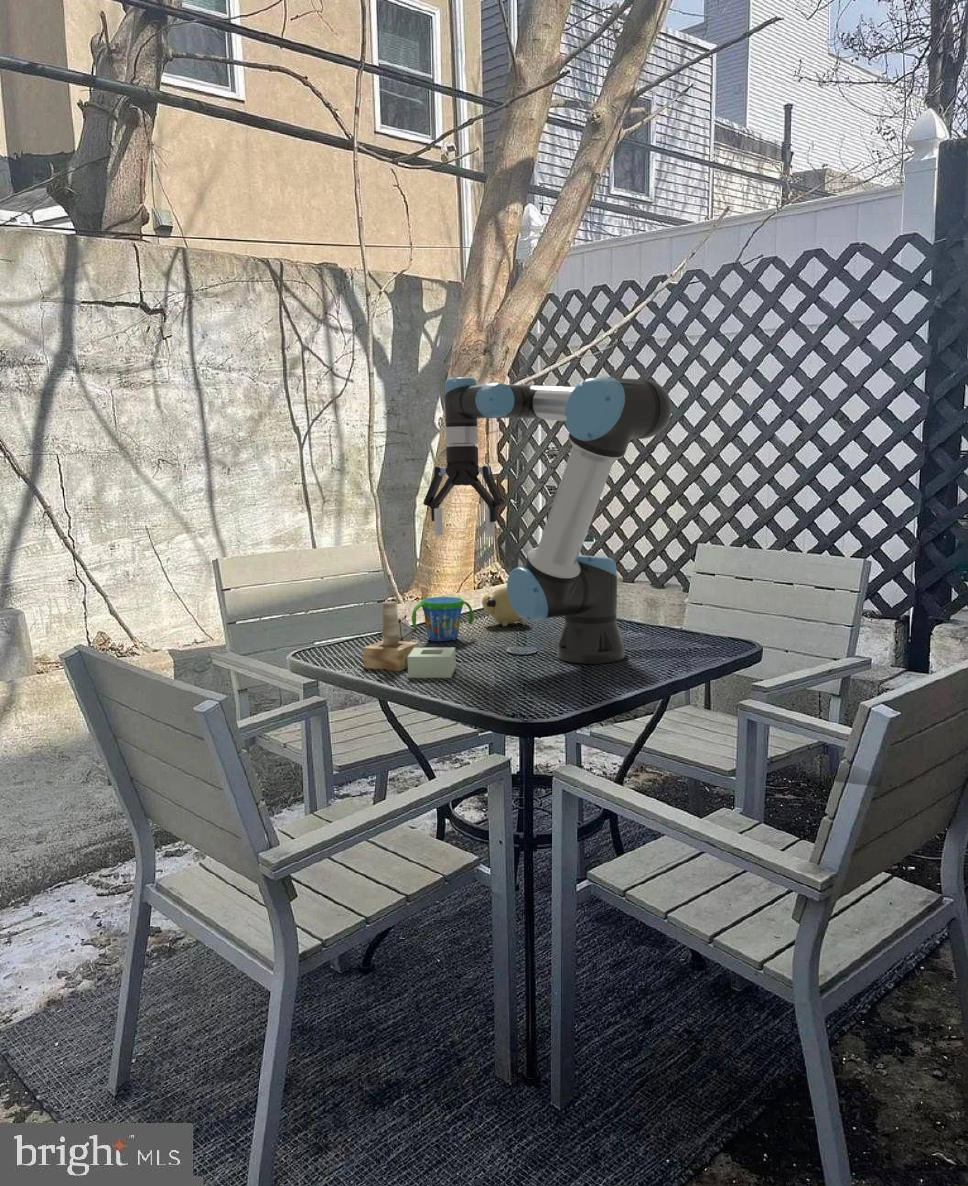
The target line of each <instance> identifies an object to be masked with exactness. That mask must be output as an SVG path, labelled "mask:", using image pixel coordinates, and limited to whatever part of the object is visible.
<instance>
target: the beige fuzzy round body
mask: <svg viewBox="0 0 968 1186" xmlns="http://www.w3.org/2000/svg"><path fill="white" fill-rule="evenodd" d="M481 601H482V602H481V604H482V608H483V609H484V611H486V612H487V614H489V615H490V616H491V617H492V619H493V620H494V621H496V622H497V623H499V624H501V626H502V627H504V626H506V627H507V626H508V625H510V624H514V623H517V622H518V621H519V622H524V621H525V619H523V618H521V617H520V616H519V615H518V614H517V613H516V612H515V611H514V609H513V607H512V606H511V603H510V600H509V597H508V593H507V585H505V586H502V587H500V588H498V589H496V590H494V592H492V593H488V594H487V595H485V596H484V597H483V598H482V599H481Z"/></svg>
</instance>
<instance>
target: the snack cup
mask: <svg viewBox="0 0 968 1186" xmlns="http://www.w3.org/2000/svg"><path fill="white" fill-rule="evenodd" d="M464 605H466V607H468V610H469V614H468V615H469V616H468V624H469V625H473V622H474V612H473V608H472V606H471V605H470V603H468V602H467V601H465V600H464V599H463V598H461V597H456V596H455V597H453V596H434V597H427V598H423V599H421V601H420V602H418V603H417V604H416V606H415V607H414V609H413V610H412V614H411V623H412V628H413V629H418V626H417V611H418V610H419V609H420V608H421V607H422V611H423V616H424V623H425V626H426V634H427V639H428V641H433V642H442V643H443V642H449V641H455V640H457V639H458V637H459V632H460V626H461V615H462V610H463V606H464Z"/></svg>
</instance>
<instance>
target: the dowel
mask: <svg viewBox="0 0 968 1186" xmlns="http://www.w3.org/2000/svg"><path fill="white" fill-rule="evenodd" d="M398 613H399V612H398V602H397V601H383V602H381V615H382V618H381V619H382V621H381V622H382V632H383V638H382V640H383V647H392V648H395V647H398V646H399V637H398V618H399V616H398V615H399V614H398Z"/></svg>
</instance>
